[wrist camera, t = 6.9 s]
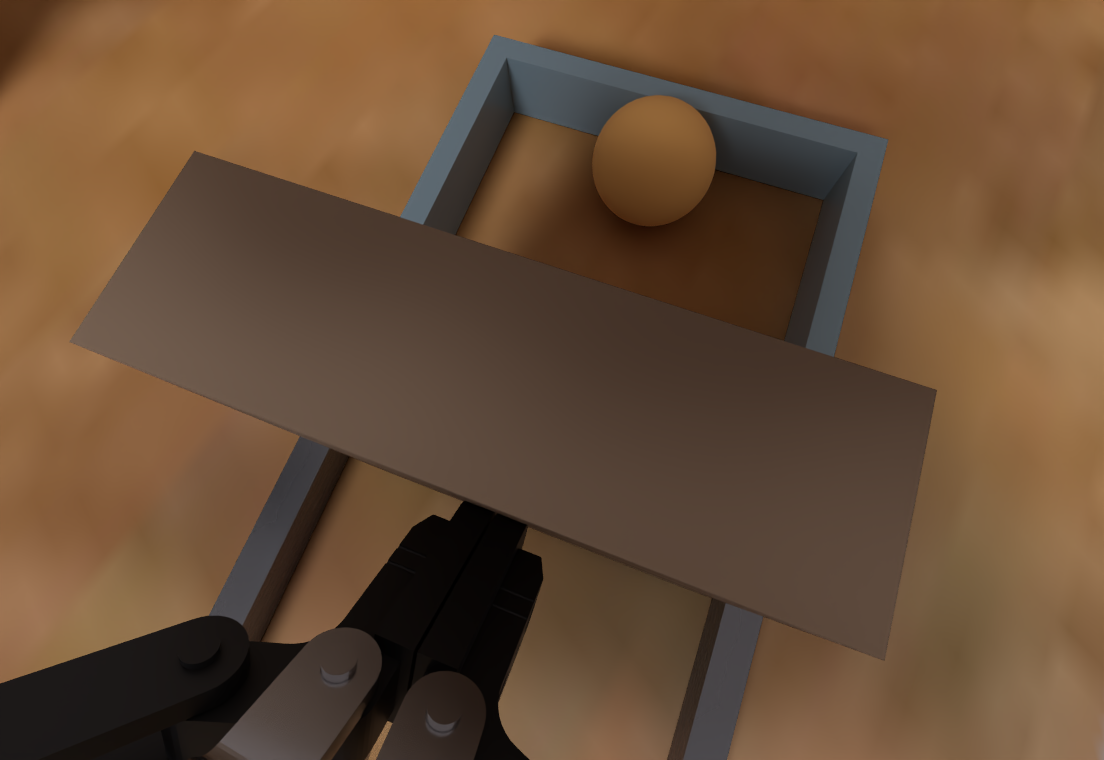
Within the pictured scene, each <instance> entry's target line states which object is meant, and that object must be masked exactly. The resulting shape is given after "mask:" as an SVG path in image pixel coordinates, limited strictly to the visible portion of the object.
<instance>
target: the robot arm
mask: <svg viewBox="0 0 1104 760" xmlns="http://www.w3.org/2000/svg"><path fill="white" fill-rule="evenodd" d="M527 528H528V525H526V524H523V523H521V522H518V521H516V520H513V519H511V518H508V517H506V516H503V515H500V514H498V513H497V514H496V513H495V512H493V511H490V510H488V509H485V508H483V507H480V506H477V505H475V504H472V503H470V502H467V501H464V502H463V503H462V504H461V505H460V507H459V508H458V510H457V511H456V513H455V514H454V516H453V517H452V519H451V520H450V521H448V520H446V519H443V518H441V517H438V516H436V515H432V516H430V517H428V518H427V519H425V520H423V521H422V522H420V523H418V524H417V525H415V526H413V527H412V529H411V530H410V531H409V533H408V534H407V535H406V537H405V538H404V539H403V541H402V542H401V543H400V545H399V547H398V549H396V550H395V551H394V553H393V554H392V555H391V557H390V558H389V560H388V562H387V564H385V565H384V566H383V568H382V569H381V570H380V572H379V573H378V574H377V576H376V577H375V578H374V580H373V581H372V582H371V584H370V585H369V586H368V588H367V589H366V590H365V592H364V593H363V594H362V596H361V597H360V598H359V600H358V601H357V602H356V604H355V605H354V606H353V608H352V609H351V610H350V612H349V613H348V615H347V616H346V617H345V619H344V620H343V621H342V622H341V623H340V624H339V625H338V626H337V627H336V628H335V629H331V630H328V631H326V632H323V633H321V634H319V635H318V636H316V637H315V638H313V639H312V640H311V641H309V642H305V643H298V644H282V643H269V642H256V641H249V638H248V634H247V631H246V630H245V628H244V627H243V625H241V624H240V623H239V622H238V621H236V620H234V619H232V618H229V617H225V616H204V617H200V618H196V619H192V620H189V621H186V622H183V623H180V624H177V625H174V626H172V627H169V628H166V629H163V630H160V631H157V632H154V633H151V634H148V635H145V636H142V637H139V638H136V639H133V640H130V641H127V642H124V643H121V644H118V645H115V646H112V647H109V648H106V649H103V650H100V651H97V652H94V653H91V654H88V655H85V656H82V657H79V658H76V659H73V660H70V661H67V662H64V663H61V664H58V665H55V666H52V667H49V668H46V669H43V670H40V671H37V672H34V673H31V674H28V675H25V676H22V677H19V678H16V679H13V680H10V681H7V682H4V683H1V684H0V760H368V759H369V756H370V752H371V750H372V748H373V746H374V744H375V742H376V741H377V739H378V737H379V735H380V733H381V732H382V730H383V728H384V726H385V724H386V723H387V721H390V722H392V723H393V724H392V726H391V728H390V730H389V732H388V735H387V737H386V739H385V741H384V743H383V746H382V748H381V750H380V752H379V754H378V757H377V759H376V760H529V759H528V758H527V757H526V756H525V755H524V754H523V753H522V752H521V751H520V750H519V749H518V748H517V747H516V746H515V745H514V744H513V743H512V742H511V741H510V739H509V737H508V736H507V734H506V733H505V731H504V729H503V727H502V724H501V721H500V717H499V711H498V702H499V700H500V697H501V694H502V692H503V689H504V687H505V684H506V681H507V679H508V676H509V673H510V671H511V668H512V666H513V663H514V660H515V658H516V655H517V653H518V650H519V647H520V645H521V642H522V640H523V637H524V634H525V632H526V629H527V627H528V624H529V621H530V618H531V615H532V612H533V609H534V606H535V603H536V600H537V597H538V593H539V590H540V587H541V584H542V581H543V571H542V561H541V557H539V556H537V555H534V554H532V553H529V552H527V551H524V550H522V546H523V543H524V539H525V536H526V532H527Z"/></svg>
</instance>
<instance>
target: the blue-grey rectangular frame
mask: <svg viewBox="0 0 1104 760" xmlns="http://www.w3.org/2000/svg"><path fill="white" fill-rule="evenodd" d="M653 95H663V96H671V97H675V98H678V99H680V100H682V101H684V102H686V103H688V104H689V105H691V106H692V107H694V108H695V109H696V110H697V111H698V112H699V113H700V114H701V115H702V117H703V118H704V119H705V120H706V122H707V124H708V126H709V127H710V130H711V132H712V135H713V138H714V142H715V147H716V165H715V169H716V170H720V171H723V172H727V173H730V174H734V175H737V176H741V177H744V178H748V179H751V180H755V181H758V182H762V183H765V184H769V185H772V186H776V187H779V188H783V189H786V190H790V191H793V192H797V193H800V194H804V195H807V196H811V197H814V198H818V199H821V200H823V204H822V207H821V211H820V214H819V218H818V222H817V225H816V229H815V232H814V236H813V239H812V243H811V247H810V250H809V254H808V257H807V261H806V265H805V268H804V272H803V275H802V279H801V282H800V286H799V290H798V293H797V297H796V300H795V304H794V308H793V311H792V315H791V318H790V322H789V325H788V329H787V333H786V336H785V340H784V341H786V342H789V343H792V344H795V345H798V346H801V347H804V348H807V349H811V350H814V351H817V352H820V353H823V354H826V355H829V356H832V357H834V354H835V350H836V346H837V342H838V338H839V334H840V330H841V326H842V322H843V318H844V314H845V310H846V306H847V303H848V299H849V295H850V291H851V287H852V283H853V279H854V275H855V271H856V267H857V263H858V259H859V255H860V251H861V247H862V243H863V239H864V235H865V231H866V227H867V223H868V219H869V215H870V211H871V207H872V203H873V199H874V195H875V191H876V187H877V183H878V179H879V175H880V171H881V167H882V163H883V159H884V155H885V151H886V147H887V143H888V139H884V138H881V137H877V136H873V135H869V134H866V133H862V132H858V131H854V130H850V129H847V128H843V127H839V126H835V125H832V124H828V123H824V122H820V121H817V120H813V119H809V118H805V117H802V116H798V115H794V114H790V113H787V112H783V111H779V110H775V109H771V108H768V107H764V106H760V105H756V104H753V103H749V102H745V101H741V100H738V99H734V98H730V97H726V96H723V95H719V94H715V93H711V92H708V91H704V90H700V89H696V88H693V87H689V86H685V85H681V84H677V83H674V82H670V81H666V80H662V79H659V78H655V77H651V76H647V75H644V74H640V73H636V72H632V71H629V70H625V69H621V68H617V67H614V66H610V65H606V64H602V63H599V62H595V61H591V60H587V59H583V58H580V57H576V56H572V55H568V54H565V53H561V52H557V51H553V50H550V49H546V48H542V47H538V46H535V45H531V44H527V43H523V42H520V41H516V40H512V39H508V38H505V37H501V36H497V35H494V36H493V38H492V40H491V42H490V44H489V46H488V48H487V49H486V51H485V53H484V55H483V57H482V59H481V61H480V63H479V65H478V67H477V69H476V71H475V73H474V75H473V77H472V79H471V81H470V83H469V84H468V86H467V88H466V90H465V92H464V94H463V96H462V98H461V100H460V102H459V104H458V106H457V108H456V110H455V112H454V114H453V116H452V117H451V119H450V121H449V123H448V125H447V127H446V129H445V131H444V133H443V135H442V137H441V139H440V141H439V143H438V145H437V147H436V149H435V150H434V152H433V154H432V156H431V158H430V160H429V162H428V164H427V166H426V168H425V170H424V172H423V174H422V176H421V178H420V180H419V182H418V183H417V185H416V187H415V189H414V191H413V193H412V195H411V197H410V199H409V201H408V203H407V205H406V207H405V209H404V211H403V213H402V215H401V216H400V217H401V218H404V219H407V220H410V221H413V222H416V223H420V224H423V225H426V226H429V227H432V228H435V229H438V230H441V231H444V232H447V233H451V234H454V235H455V234H456V232H457V230H458V228H459V226H460V224H461V222H462V219H463V217H464V215H465V213H466V211H467V209H468V207H469V205H470V203H471V201H472V199H473V196H474V194H475V192H476V190H477V188H478V186H479V184H480V182H481V180H482V178H483V176H484V174H485V171H486V169H487V167H488V165H489V163H490V161H491V159H492V157H493V155H494V153H495V151H496V149H497V146H498V144H499V142H500V140H501V138H502V136H503V134H504V132H505V130H506V128H507V126H508V123H509V121H510V119H511V117H512V115H513V113H514V112H516V113H520V114H523V115H527V116H530V117H534V118H537V119H541V120H544V121H548V122H551V123H555V124H558V125H562V126H565V127H569V128H572V129H576V130H579V131H583V132H586V133H590V134H593V135H597V136H599V134H600V132H601V130H602V128H603V127H604V125H605V124H606V122H607V121H608V120H609V119H610V118H611V116H612V115H613V114H614V113H616V112H617V111H618V110H619V109H620V108H621V107H623V106H625V105H626V104H628V103H630V102H632V101H634V100H636V99H639V98H642V97H646V96H653Z"/></svg>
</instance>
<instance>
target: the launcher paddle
mask: <svg viewBox="0 0 1104 760" xmlns="http://www.w3.org/2000/svg"><path fill="white" fill-rule="evenodd" d="M70 342H71V343H73V344H76V345H78V346H81V347H83V348H86V349H88V350H90V351H93V352H95V353H98V354H100V355H103V356H105V357H108V358H110V359H112V360H115V361H117V362H120V363H122V364H125V365H127V366H130V367H132V368H135V369H137V370H139V371H142V372H144V373H147V374H149V375H152V376H154V377H157V378H159V379H161V380H164V381H166V382H169V383H171V384H174V385H176V386H179V387H181V388H184V389H186V390H188V391H191V392H193V393H196V394H198V395H201V396H203V397H206V398H208V399H210V400H213V401H215V402H218V403H220V404H223V405H225V406H228V407H230V408H232V409H235V410H237V411H240V412H242V413H245V414H247V415H250V416H252V417H255V418H257V419H259V420H262V421H264V422H267V423H269V424H272V425H274V426H277V427H279V428H281V429H284V430H286V431H289V432H291V433H294V434H296V435H299V436H301V437H304V438H306V439H308V440H311V441H313V442H316V443H318V444H321V445H323V446H326V447H328V448H330V449H333V450H335V451H338V452H340V453H343V454H345V455H348V456H350V457H352V458H355V459H357V460H360V461H362V462H365V463H367V464H370V465H372V466H375V467H377V468H380V469H382V470H385V471H387V472H390V473H392V474H395V475H398V476H400V477H403V478H405V479H408V480H410V481H413V482H415V483H418V484H420V485H423V486H426V487H428V488H431V489H433V490H436V491H438V492H441V493H443V494H446V495H448V496H451V497H454V498H456V499H459V500H461V501H467V502H470V503H472V504H475V505H477V506H480V507H483V508H485V509H488V510H490V511H493V512H495V513H496V514H497V513H498V514H500V515H503V516H506V517H508V518H511V519H513V520H516V521H518V522H521V523H523V524H526V525H528V527H530V528H533V529H535V530H538V531H540V532H543V533H545V534H548V535H550V536H553V537H555V538H558V539H561V540H563V541H566V542H568V543H571V544H573V545H576V546H578V547H581V548H583V549H586V550H589V551H591V552H594V553H596V554H599V555H601V556H604V557H606V558H609V559H612V560H614V561H617V562H619V563H622V564H624V565H627V566H629V567H632V568H634V569H637V570H640V571H642V572H645V573H647V574H650V575H652V576H655V577H657V578H660V579H662V580H665V581H668V582H670V583H673V584H675V585H678V586H680V587H683V588H686V589H689V590H691V591H694V592H697V593H700V594H702V595H705V596H708V597H711V598H713V599H716V600H719V601H722V602H724V603H727V604H730V605H733V606H735V607H738V608H741V609H744V610H746V611H749V612H752V613H755V614H757V615H760V616H763V617H766V618H768V619H771V620H774V621H777V622H779V623H782V624H785V625H788V626H790V627H793V628H796V629H799V630H801V631H804V632H807V633H810V634H812V635H815V636H818V637H821V638H823V639H826V640H829V641H832V642H834V643H837V644H840V645H843V646H846V647H848V648H851V649H854V650H857V651H859V652H862V653H865V654H868V655H870V656H873V657H876V658H879V659H881V660H885V655H886V650H887V645H888V640H889V635H890V629H891V624H892V619H893V614H894V609H895V604H896V598H897V593H898V588H899V583H900V578H901V573H902V567H903V562H904V557H905V552H906V547H907V542H908V536H909V531H910V526H911V521H912V516H913V511H914V506H915V500H916V495H917V490H918V485H919V480H920V475H921V469H922V464H923V459H924V454H925V449H926V444H927V438H928V433H929V428H930V423H931V418H932V413H933V407H934V402H935V397H936V392H937V390H935V389H932V388H929V387H925V386H922V385H919V384H916V383H913V382H910V381H907V380H904V379H901V378H897V377H894V376H891V375H888V374H885V373H882V372H879V371H876V370H873V369H870V368H866V367H863V366H860V365H857V364H854V363H851V362H848V361H845V360H842V359H839V358H835V357H832V356H829V355H826V354H823V353H820V352H817V351H814V350H811V349H807V348H804V347H801V346H798V345H795V344H792V343H789V342H786V341H783V340H780V339H776V338H773V337H770V336H767V335H764V334H761V333H758V332H755V331H752V330H749V329H745V328H742V327H739V326H736V325H733V324H730V323H727V322H724V321H721V320H717V319H714V318H711V317H708V316H705V315H702V314H699V313H696V312H693V311H690V310H686V309H683V308H680V307H677V306H674V305H671V304H668V303H665V302H662V301H658V300H655V299H652V298H649V297H646V296H643V295H640V294H637V293H634V292H631V291H627V290H624V289H621V288H618V287H615V286H612V285H609V284H606V283H603V282H600V281H596V280H593V279H590V278H587V277H584V276H581V275H578V274H575V273H572V272H568V271H565V270H562V269H559V268H556V267H553V266H550V265H547V264H544V263H541V262H537V261H534V260H531V259H528V258H525V257H522V256H519V255H516V254H513V253H510V252H506V251H503V250H500V249H497V248H494V247H491V246H488V245H485V244H482V243H478V242H475V241H472V240H469V239H466V238H463V237H460V236H457V235H454V234H451V233H447V232H444V231H441V230H438V229H435V228H432V227H429V226H426V225H423V224H420V223H416V222H413V221H410V220H407V219H404V218H401V217H398V216H395V215H392V214H388V213H385V212H382V211H379V210H376V209H373V208H370V207H367V206H364V205H361V204H357V203H354V202H351V201H348V200H345V199H342V198H339V197H336V196H333V195H330V194H326V193H323V192H320V191H317V190H314V189H311V188H308V187H305V186H302V185H298V184H295V183H292V182H289V181H286V180H283V179H280V178H277V177H274V176H271V175H267V174H264V173H261V172H258V171H255V170H252V169H249V168H246V167H243V166H239V165H236V164H233V163H230V162H227V161H224V160H221V159H218V158H215V157H212V156H208V155H205V154H202V153H199V152H196V151H194V152H193V154H192V156H191V157H190V159H189V160H188V162H187V163H186V165H185V166H184V168H183V169H182V171H181V172H180V174H179V175H178V177H177V178H176V180H175V181H174V183H173V185H172V186H171V188H170V189H169V191H168V192H167V194H166V195H165V197H164V198H163V200H162V201H161V203H160V204H159V206H158V207H157V209H156V210H155V212H154V214H153V215H152V217H151V218H150V220H149V221H148V223H147V224H146V226H145V227H144V229H143V230H142V232H141V233H140V235H139V236H138V238H137V239H136V241H135V243H134V244H133V246H132V247H131V249H130V250H129V252H128V253H127V255H126V256H125V258H124V259H123V261H122V262H121V264H120V265H119V267H118V268H117V270H116V272H115V273H114V275H113V276H112V278H111V279H110V281H109V282H108V284H107V285H106V287H105V288H104V290H103V291H102V293H101V294H100V296H99V297H98V299H97V301H96V302H95V304H94V305H93V307H92V308H91V310H90V311H89V313H88V314H87V316H86V317H85V319H84V320H83V322H82V323H81V325H80V326H79V328H78V329H77V331H76V333H75V334H74V336H73V337H72V339H71V340H70Z"/></svg>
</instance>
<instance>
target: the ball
mask: <svg viewBox="0 0 1104 760" xmlns="http://www.w3.org/2000/svg"><path fill="white" fill-rule="evenodd" d="M715 165H716V147H715V142H714V138H713V135H712V132H711V130H710V127H709V126H708V124H707V122H706V120H705V119H704V118H703V117H702V115H701V114H700V113H699V112H698V111H697V110H696V109H695V108H694V107H692V106H691V105H689V104H688V103H686V102H684V101H682V100H680V99H678V98H675V97H671V96H663V95H653V96H646V97H642V98H639V99H636V100H634V101H632V102H630V103H628V104H626V105H625V106H623V107H621V108H620V109H619V110H618V111H617V112H616V113H614V114H613V115H612V116H611V118H610V119H609V120H608V121H607V122H606V124H605V125H604V127H603V128H602V130H601V132H600V134H599V136H598V139H597V141H596V144H595V148H594V152H593V159H592V171H593V179H594V182H595V186H596V188H597V191H598V193H599V195H600V197H601V199H602V200H603V202H604V203H605V204H606V206H607V207H608V208H609V209H610V210H611V211H612V212H613V213H614V214H616V215H617V216H618V217H620V218H621V219H623V220H625V221H627V222H630V223H633V224H636V225H641V226H659V225H665V224H668V223H671V222H674V221H676V220H678V219H680V218H681V217H683V216H685V215H686V214H687V213H689V212H690V211H691V210H692V209H694V207H695V206H696V205H697V204H698V203H699V202H700V201H701V200H702V198H703V197H704V196H705V194H706V192H707V190H708V189H709V186H710V184H711V182H712V179H713V175H714V172H715Z"/></svg>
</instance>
